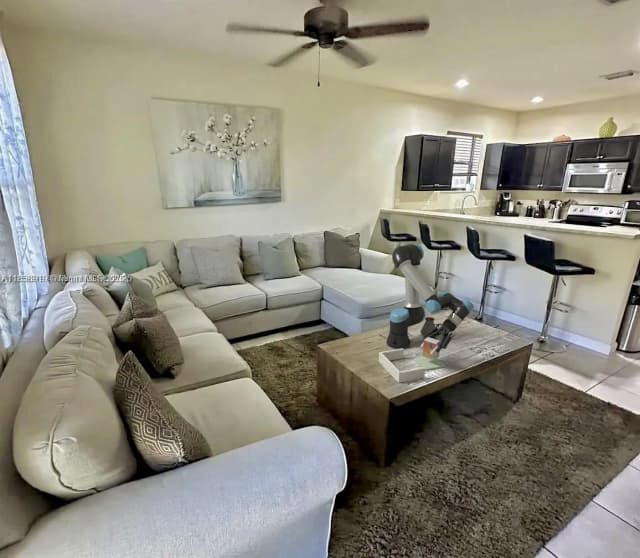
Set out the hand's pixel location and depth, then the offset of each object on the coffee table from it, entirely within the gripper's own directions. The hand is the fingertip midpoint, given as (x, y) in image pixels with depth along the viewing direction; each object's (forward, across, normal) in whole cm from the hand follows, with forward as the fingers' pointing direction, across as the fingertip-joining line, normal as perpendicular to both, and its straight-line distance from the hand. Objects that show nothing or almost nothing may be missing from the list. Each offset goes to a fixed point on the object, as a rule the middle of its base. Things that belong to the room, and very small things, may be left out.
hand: (426, 351), depth 206 cm
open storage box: (+18, 0, +5) cm, 19 cm away
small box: (+1, 0, -5) cm, 5 cm away
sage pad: (+4, 0, -8) cm, 9 cm away
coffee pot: (-11, +28, -23) cm, 38 cm away
